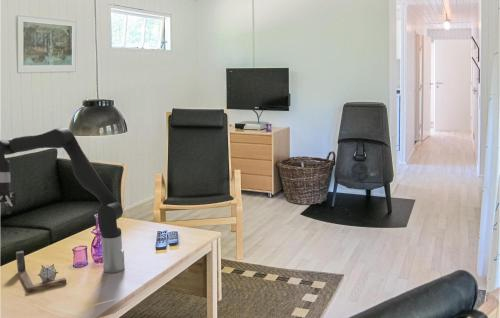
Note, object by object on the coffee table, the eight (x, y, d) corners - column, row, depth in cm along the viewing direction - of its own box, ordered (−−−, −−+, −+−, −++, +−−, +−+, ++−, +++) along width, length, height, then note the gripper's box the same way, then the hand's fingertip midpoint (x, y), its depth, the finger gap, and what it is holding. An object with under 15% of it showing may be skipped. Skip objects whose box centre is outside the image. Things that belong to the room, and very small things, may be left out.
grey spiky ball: (51, 290, 222) (48, 279, 215) (34, 283, 223) (32, 272, 216) (63, 275, 228) (61, 264, 221) (47, 267, 229) (45, 256, 222)
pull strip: (53, 264, 242) (51, 245, 240) (66, 283, 220) (64, 262, 218) (17, 272, 233) (15, 251, 231) (28, 292, 211) (26, 270, 209)
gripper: (-8, 182, 228) (-9, 216, 228) (19, 181, 241) (19, 214, 241) (-18, 181, 232) (-19, 215, 232) (10, 180, 244) (9, 212, 244)
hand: (0, 214), depth 236 cm, fingers open, 8 cm apart
